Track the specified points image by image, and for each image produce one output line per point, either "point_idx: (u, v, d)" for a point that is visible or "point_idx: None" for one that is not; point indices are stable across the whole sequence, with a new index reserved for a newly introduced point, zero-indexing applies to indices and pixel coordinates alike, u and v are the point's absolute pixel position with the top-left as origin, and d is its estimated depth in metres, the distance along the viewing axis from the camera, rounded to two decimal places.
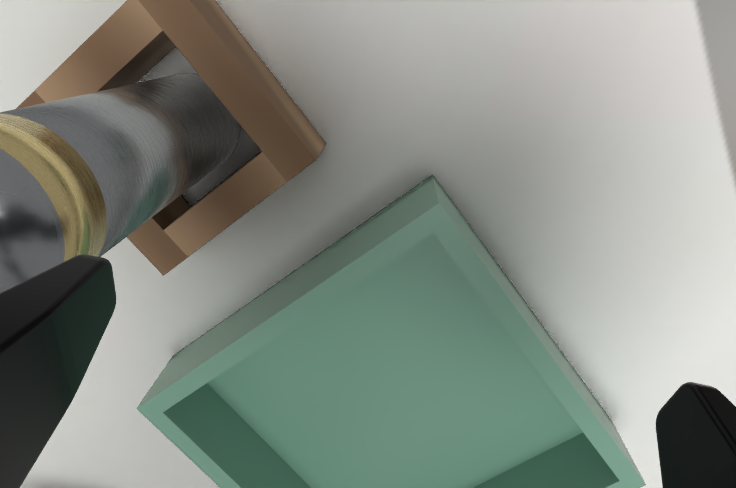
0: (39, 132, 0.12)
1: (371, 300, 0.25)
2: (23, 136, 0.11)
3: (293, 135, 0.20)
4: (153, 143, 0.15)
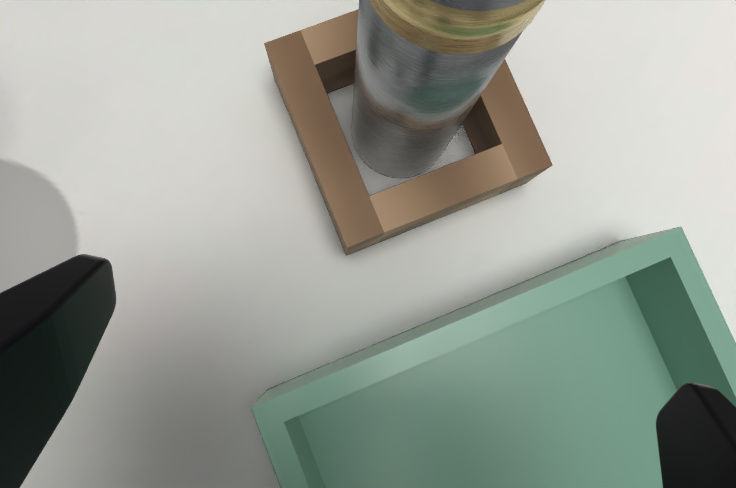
0: None
1: (538, 362, 0.21)
2: None
3: (537, 136, 0.20)
4: None
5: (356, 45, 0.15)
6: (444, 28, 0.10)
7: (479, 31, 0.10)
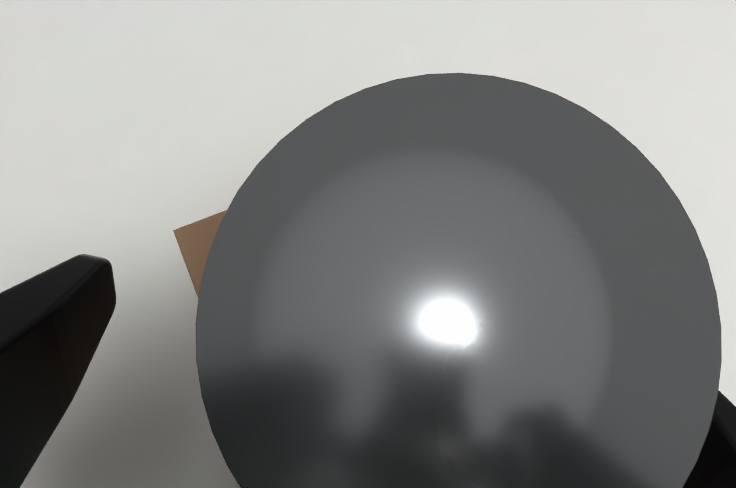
0: None
1: None
2: None
3: None
4: None
5: None
6: None
7: None
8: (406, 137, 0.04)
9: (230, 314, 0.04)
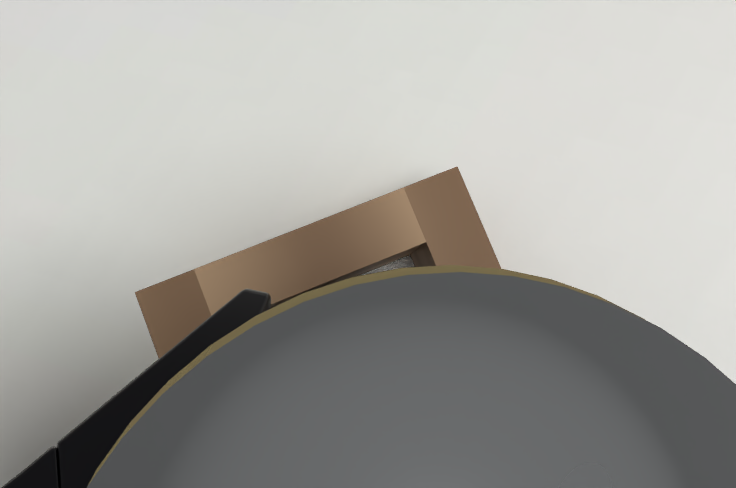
0: None
1: None
2: None
3: None
4: None
5: None
6: None
7: None
8: (370, 384, 0.03)
9: None
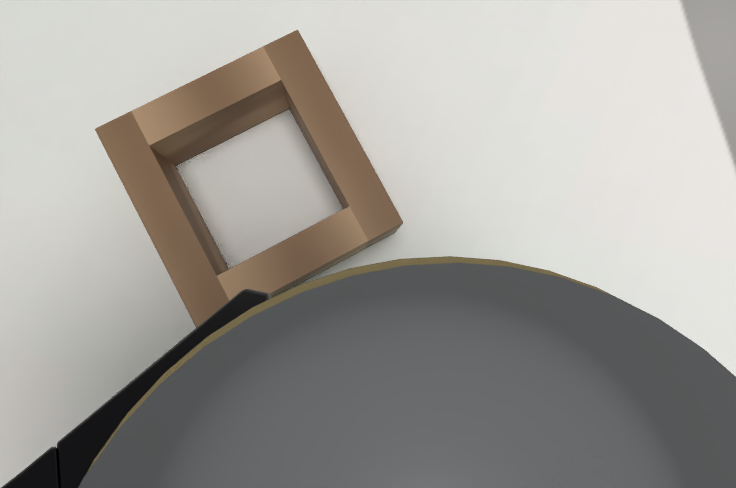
0: None
1: None
2: None
3: (385, 194, 0.19)
4: None
5: None
6: None
7: None
8: (368, 374, 0.03)
9: None
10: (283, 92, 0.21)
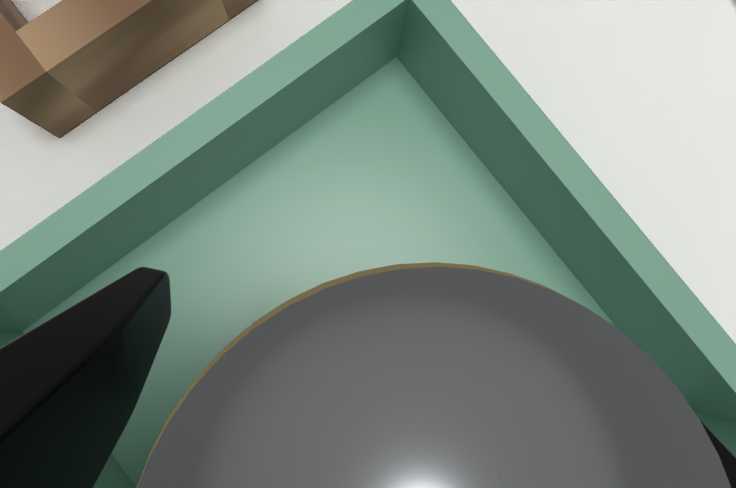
0: None
1: (323, 198, 0.17)
2: None
3: None
4: None
5: None
6: None
7: None
8: (374, 348, 0.04)
9: None
10: None
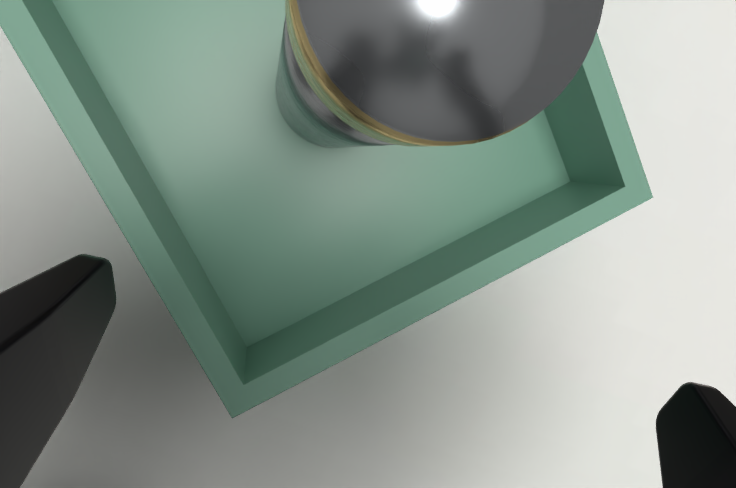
0: None
1: None
2: None
3: None
4: None
5: None
6: (374, 131, 0.08)
7: (418, 144, 0.08)
8: None
9: None
10: None
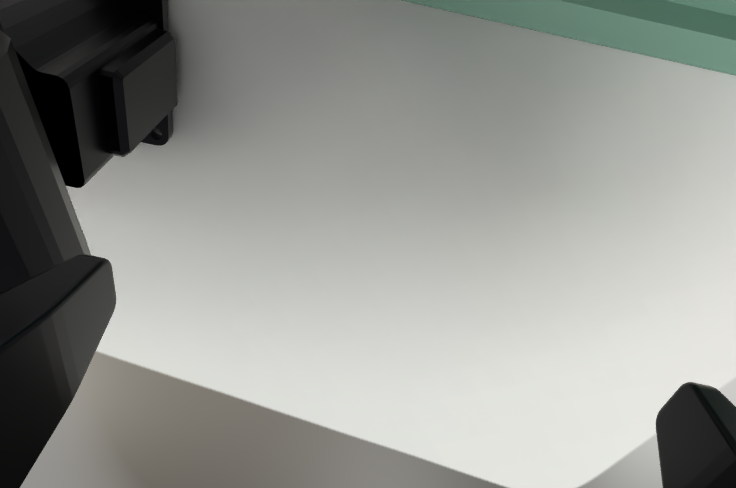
0: None
1: None
2: None
3: None
4: None
5: None
6: None
7: None
8: None
9: None
10: None
